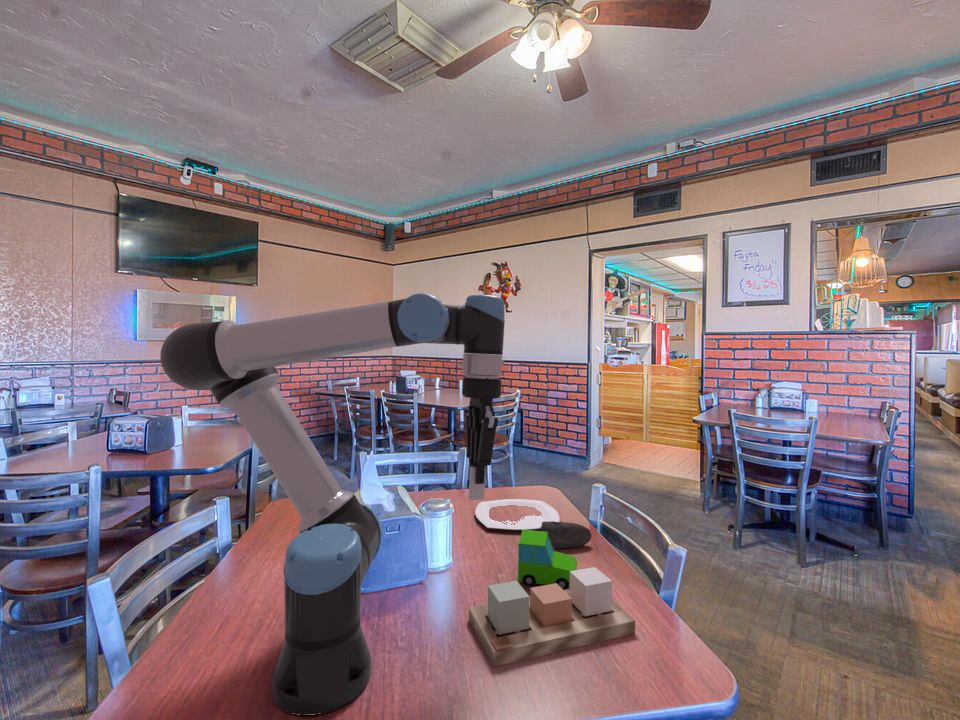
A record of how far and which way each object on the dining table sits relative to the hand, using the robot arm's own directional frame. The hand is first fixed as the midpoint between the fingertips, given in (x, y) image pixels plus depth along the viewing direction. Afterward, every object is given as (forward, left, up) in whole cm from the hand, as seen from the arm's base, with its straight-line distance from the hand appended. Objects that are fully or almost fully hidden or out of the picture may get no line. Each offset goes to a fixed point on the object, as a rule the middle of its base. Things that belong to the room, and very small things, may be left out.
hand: (476, 498), depth 86 cm
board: (+14, -4, -25) cm, 29 cm away
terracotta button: (+14, -4, -25) cm, 29 cm away
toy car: (+22, +12, -26) cm, 36 cm away
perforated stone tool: (+35, +27, -26) cm, 51 cm away
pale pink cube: (+23, -4, -23) cm, 33 cm away
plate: (+31, +51, -26) cm, 65 cm away
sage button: (+5, -4, -23) cm, 24 cm away
